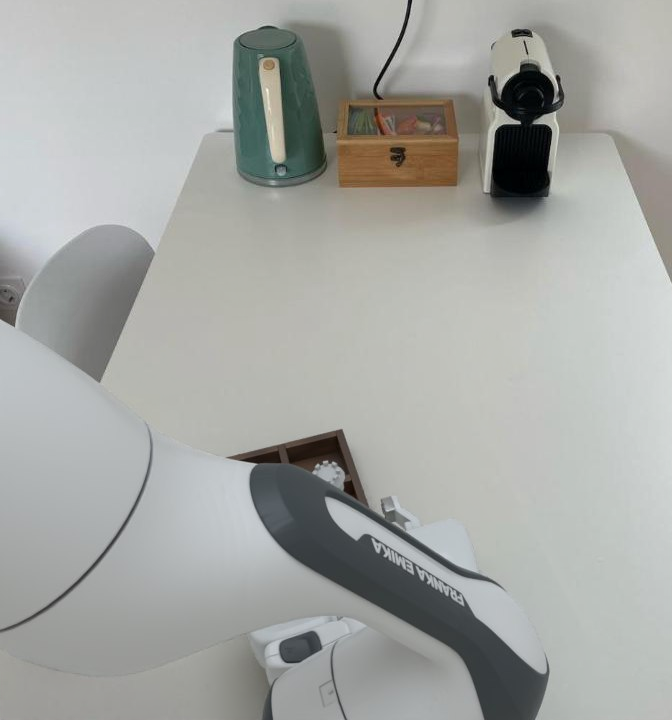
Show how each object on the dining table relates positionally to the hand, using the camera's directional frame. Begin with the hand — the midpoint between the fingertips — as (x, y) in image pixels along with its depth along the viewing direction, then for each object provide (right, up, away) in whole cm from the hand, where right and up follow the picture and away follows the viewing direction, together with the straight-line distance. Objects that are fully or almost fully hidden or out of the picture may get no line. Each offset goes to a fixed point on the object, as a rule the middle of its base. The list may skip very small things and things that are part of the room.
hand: (338, 514), depth 73 cm
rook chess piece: (-1, -2, +7) cm, 8 cm away
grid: (-8, -2, +9) cm, 12 cm away
